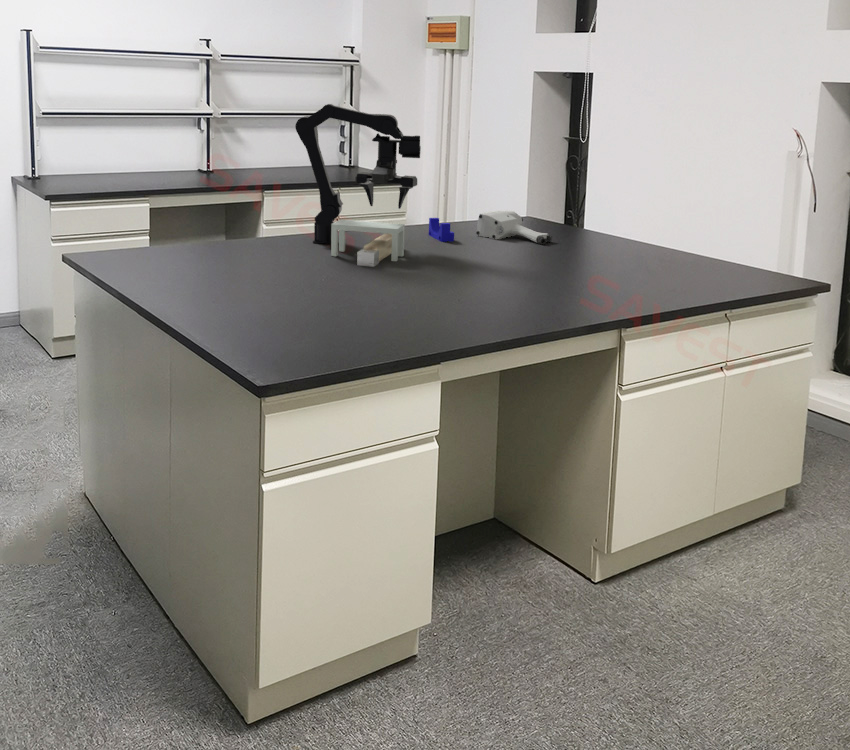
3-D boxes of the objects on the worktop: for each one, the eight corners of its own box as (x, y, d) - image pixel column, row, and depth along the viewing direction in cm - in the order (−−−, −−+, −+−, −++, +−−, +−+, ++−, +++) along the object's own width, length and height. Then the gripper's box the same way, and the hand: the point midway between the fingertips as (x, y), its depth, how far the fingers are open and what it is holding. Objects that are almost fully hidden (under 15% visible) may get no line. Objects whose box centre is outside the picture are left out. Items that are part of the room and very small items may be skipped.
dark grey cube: (357, 265, 283) (357, 252, 282) (362, 262, 288) (362, 248, 287) (373, 267, 282) (374, 253, 281) (378, 263, 287) (379, 250, 286)
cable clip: (453, 241, 324) (454, 223, 322) (441, 242, 323) (441, 224, 321) (441, 235, 335) (441, 217, 333) (428, 235, 334) (429, 217, 332)
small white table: (331, 255, 294) (331, 224, 291) (340, 250, 303) (340, 219, 300) (396, 261, 290) (397, 229, 287) (403, 255, 299) (404, 224, 296)
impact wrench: (573, 230, 337) (514, 204, 349) (539, 239, 320) (478, 211, 332) (567, 252, 341) (508, 226, 353) (533, 262, 323) (472, 233, 335)
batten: (363, 263, 288) (363, 246, 286) (386, 247, 311) (387, 232, 310) (376, 264, 287) (377, 247, 286) (398, 248, 310) (399, 232, 309)
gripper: (349, 156, 301) (348, 208, 305) (408, 161, 296) (406, 213, 301) (361, 153, 311) (360, 203, 316) (418, 158, 306) (416, 208, 311)
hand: (385, 207), depth 311 cm, fingers open, 9 cm apart
